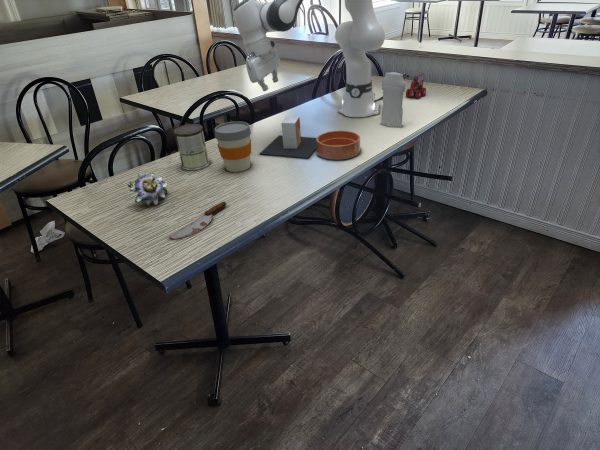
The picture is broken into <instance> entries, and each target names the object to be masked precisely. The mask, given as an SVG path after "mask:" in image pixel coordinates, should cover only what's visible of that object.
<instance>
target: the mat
mask: <svg viewBox="0 0 600 450" xmlns="http://www.w3.org/2000/svg"><path fill="white" fill-rule="evenodd" d="M316 138H317V137H311V136H301V143H300V145H299V146H298V148H297V149H284V146H283V136H282V134H280V135H278V136H277V137H276V138H275V139H274V140H272V141H271V142H270V143H269V144H268V145H266V147H265V148H264V149H263V150H261V152H259V155H260V156H269V157H278V158H279V157H281V158H290V159H304V160H309V159H310V158H311V156H312V155H313V154H314V153H315V152H316V151H317V144H316Z"/></svg>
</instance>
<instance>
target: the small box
mask: <svg viewBox="0 0 600 450" xmlns="http://www.w3.org/2000/svg"><path fill="white" fill-rule="evenodd" d="M300 119H301V117H300V116H285V118H284V119H283V120H282V121H281V123H280V126H281V135H282V136H283V146H284V149H297V148H298V146H299V145H300V143H301V137H302V133H301V131H302V130H301V120H300Z"/></svg>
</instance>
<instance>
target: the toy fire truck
mask: <svg viewBox="0 0 600 450" xmlns="http://www.w3.org/2000/svg"><path fill="white" fill-rule="evenodd" d="M424 79H425V74H424V73H420V74H418V75H415V76H413V80H412V81H411V82H410V87H409V88H406V90H405V97H406V98H410V97H411V98H412V97H415V99H420V98H421V97H424V96H425V95H426V93H427V88H426V87H424Z"/></svg>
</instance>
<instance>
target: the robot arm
mask: <svg viewBox="0 0 600 450" xmlns="http://www.w3.org/2000/svg"><path fill="white" fill-rule="evenodd" d="M303 2H304V0H272V1H269V2H267V1H265V2H264V1H257V0H242V1H240V2H238V3H237V4H236V5H235V6H234V7H233V11H232V12H233V18H234V20H235V21H234V22H235V25H236V28H237V31H238V33H239V35H240V37H241V38H242V44H243V47H244V50H245V52H246V55H247V56H246V59H245V60H246V61H245V67H246V72H247V74H248V78H249V81H250V82H251V84H256V83H257V84H258V86H260V88H261V89H262V91H263V92H266V91H268V90H269V86H268V84H266V83H265V78H266V77H267V76H269V75H270V74H271V75H272V78H271V80H272V83H274V84H275V83H278V82H279V81H280V80H279V77H278V68H279V67H281V58H280V55H279V52H278V49H277V48H276V46H277V44H276V41H275V40H273V39H268V37H267V33H276V32H283V33H284V32H288V31H289V30H291V29H292V28H293V27H294V26H295V23H296V21H297V19H298V18H297V17H298V13H299V10H300V6H301V5H302V3H303ZM344 8H345V9H346V11H347V12H348V13H349V15H350V17H351V19H352V20H347V21H344V22H340V23H339V24H338V25H337V27H336V29H335V32H334V39H335V42H336V43H337V44H338V46H339V48H340V49H341V52H342V54H343V59H344V62H345V71H346V72H345V75H346V81H345V86H344V88H345V92H344V93H343V94H342V100H341V108H340V109H339V110H338V112H339V113H340V114H342V115H344V117H345V116H346V117H350V118H365V117H370V116H374V115H375V116H376V115H379V114H380V113H379V112H380V103H379V101H382V100H383V95H382V96H381V97H379V98H378V99H376V93H375V92H374V91H373V79H372V63H371V61H370V59H369V58H368V57H367V54H366V52H373V51H378V50H379V49H381V47H383V46H384V43H385V39H386V33H385V30H384V28H383V26H381V24H380V23H379V20H378V19H377V17H376V14H375V10H374V4H373V0H344ZM406 74H407V73H404V74H403V78H404V77H410V75H409V74H408V75H407V76H406Z"/></svg>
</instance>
